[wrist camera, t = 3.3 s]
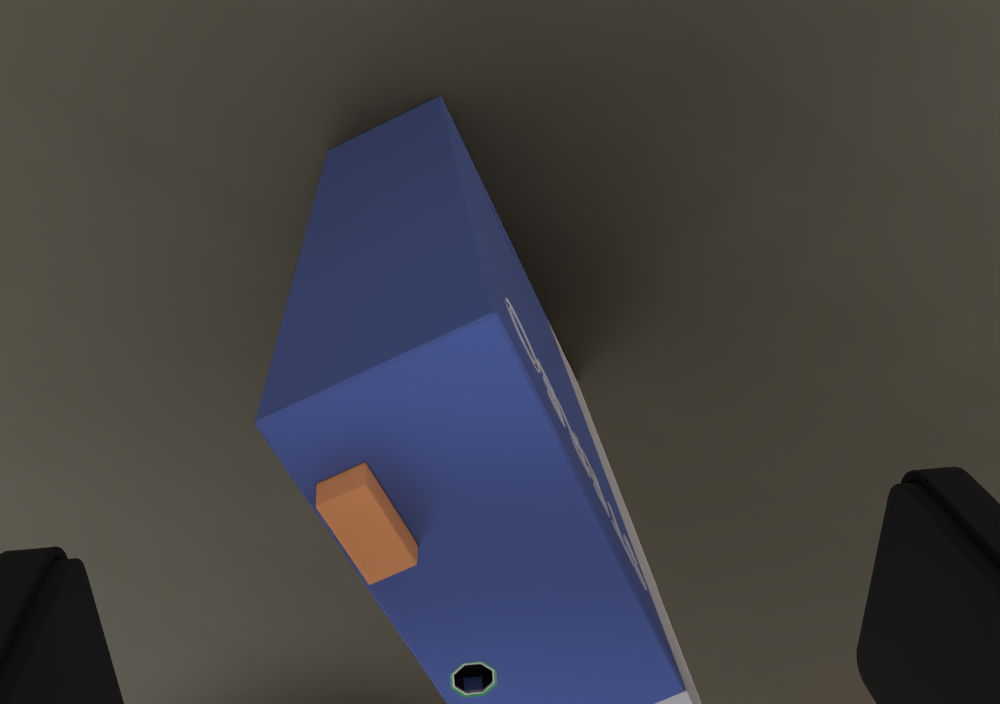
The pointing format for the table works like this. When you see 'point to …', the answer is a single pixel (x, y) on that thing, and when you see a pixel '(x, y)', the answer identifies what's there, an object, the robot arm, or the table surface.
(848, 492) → the table surface
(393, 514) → the walkman
